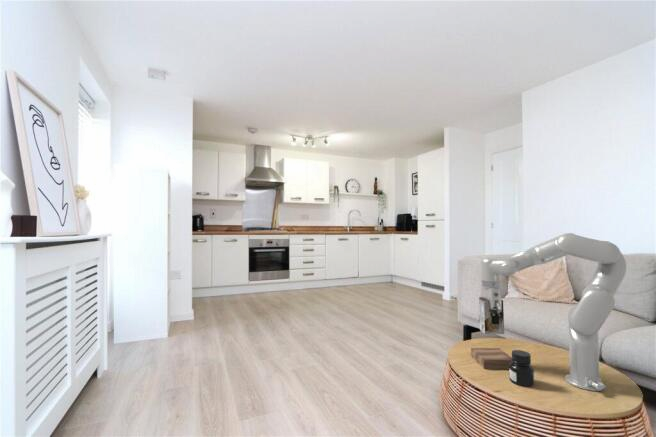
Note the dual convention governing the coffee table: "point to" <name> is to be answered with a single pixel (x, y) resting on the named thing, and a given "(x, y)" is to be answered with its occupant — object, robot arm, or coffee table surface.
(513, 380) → the ink bottle
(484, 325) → the coffee box
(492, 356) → the walnut block
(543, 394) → the coffee table surface
